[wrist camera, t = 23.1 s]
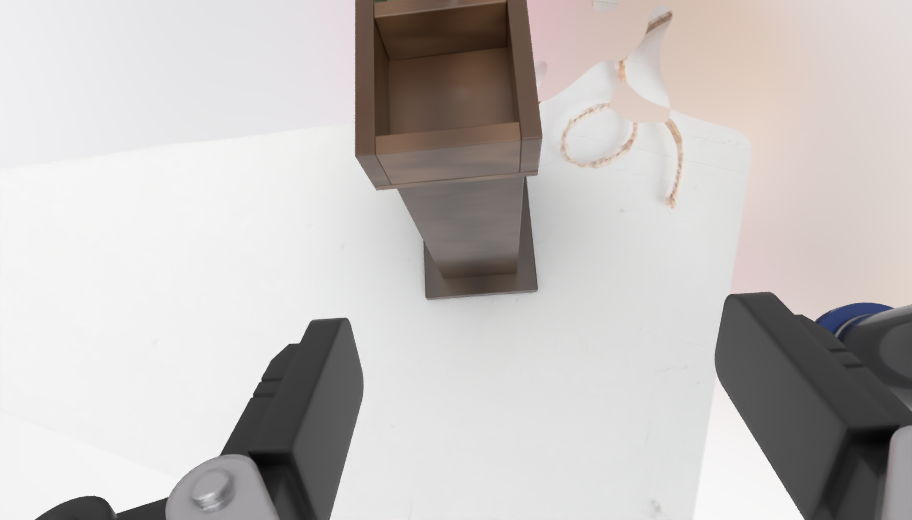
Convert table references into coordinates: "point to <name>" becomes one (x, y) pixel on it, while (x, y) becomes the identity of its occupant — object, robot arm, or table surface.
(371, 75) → the box
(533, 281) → the stand
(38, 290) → the table surface
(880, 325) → the robot arm
